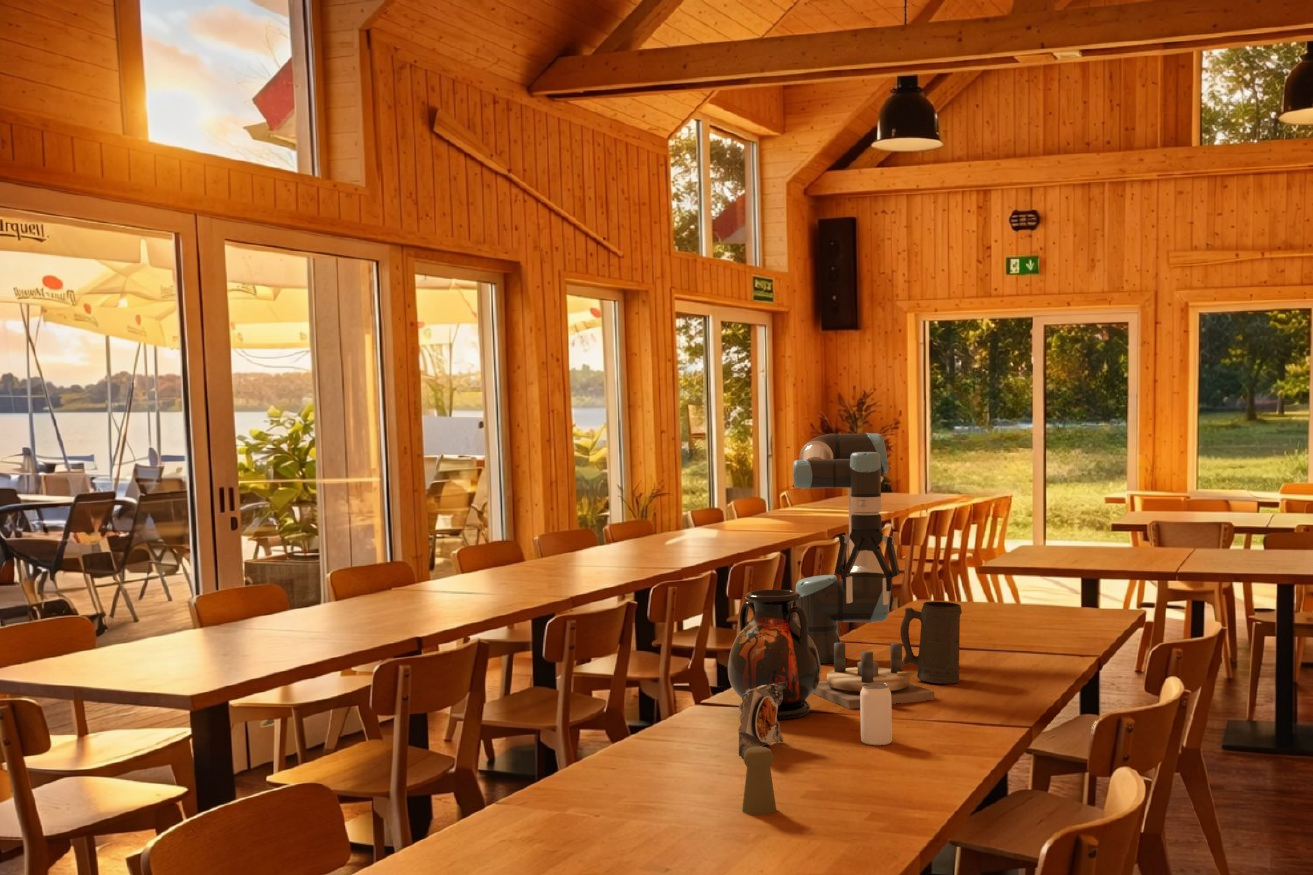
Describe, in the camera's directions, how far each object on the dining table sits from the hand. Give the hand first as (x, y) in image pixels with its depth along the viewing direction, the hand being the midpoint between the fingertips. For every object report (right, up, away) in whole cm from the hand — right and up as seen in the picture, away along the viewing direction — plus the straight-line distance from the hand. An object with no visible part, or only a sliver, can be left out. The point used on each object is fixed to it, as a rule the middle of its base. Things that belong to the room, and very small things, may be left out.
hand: (867, 603), depth 326 cm
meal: (-31, -23, -58) cm, 69 cm away
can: (-7, -23, -53) cm, 58 cm away
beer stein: (+18, -21, +8) cm, 29 cm away
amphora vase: (-26, -22, -25) cm, 42 cm away
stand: (-1, -21, -7) cm, 23 cm away
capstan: (-1, -19, -7) cm, 20 cm away
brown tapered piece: (-35, -24, -99) cm, 107 cm away
